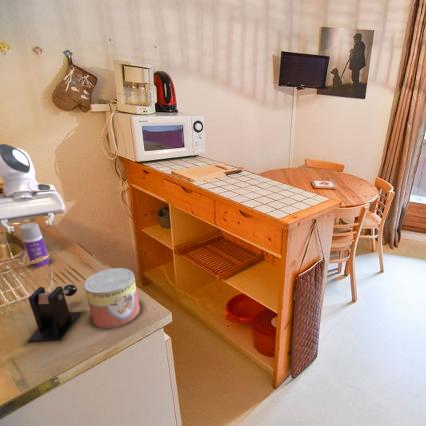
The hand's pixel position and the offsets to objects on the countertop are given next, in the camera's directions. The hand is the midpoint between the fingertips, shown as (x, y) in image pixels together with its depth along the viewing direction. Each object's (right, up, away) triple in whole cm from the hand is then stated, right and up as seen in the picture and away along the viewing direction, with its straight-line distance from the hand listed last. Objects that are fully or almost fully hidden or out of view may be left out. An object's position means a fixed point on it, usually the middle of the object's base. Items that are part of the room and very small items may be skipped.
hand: (31, 229), depth 105 cm
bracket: (+27, -25, -23) cm, 43 cm away
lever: (+27, -18, -22) cm, 39 cm away
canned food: (+39, -23, -16) cm, 49 cm away
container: (+1, -12, +2) cm, 13 cm away
